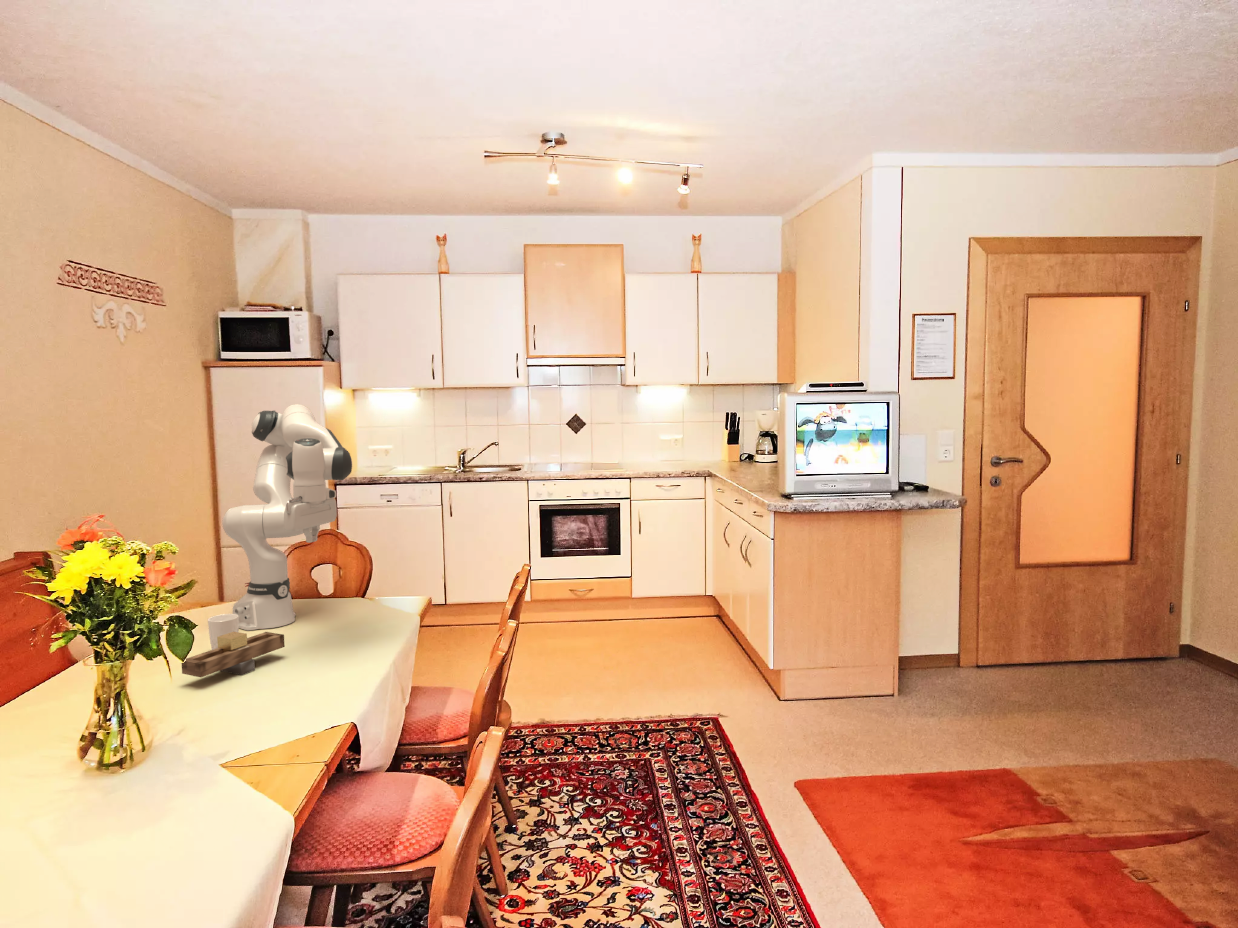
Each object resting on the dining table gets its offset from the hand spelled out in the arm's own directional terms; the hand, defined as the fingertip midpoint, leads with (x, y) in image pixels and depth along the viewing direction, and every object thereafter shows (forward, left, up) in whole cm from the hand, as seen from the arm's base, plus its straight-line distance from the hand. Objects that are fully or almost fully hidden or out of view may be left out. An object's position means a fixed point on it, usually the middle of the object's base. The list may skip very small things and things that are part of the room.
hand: (311, 541), depth 223 cm
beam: (-4, -24, -31) cm, 39 cm away
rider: (-4, -25, -26) cm, 36 cm away
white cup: (-21, -14, -31) cm, 40 cm away
